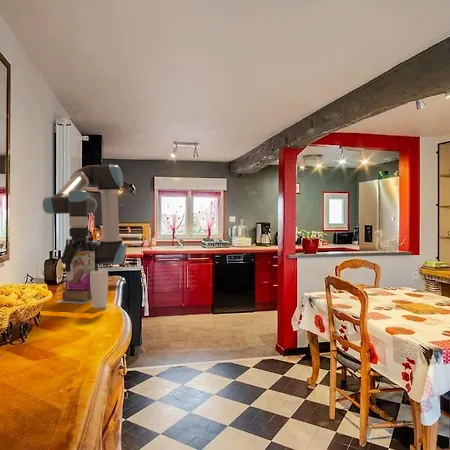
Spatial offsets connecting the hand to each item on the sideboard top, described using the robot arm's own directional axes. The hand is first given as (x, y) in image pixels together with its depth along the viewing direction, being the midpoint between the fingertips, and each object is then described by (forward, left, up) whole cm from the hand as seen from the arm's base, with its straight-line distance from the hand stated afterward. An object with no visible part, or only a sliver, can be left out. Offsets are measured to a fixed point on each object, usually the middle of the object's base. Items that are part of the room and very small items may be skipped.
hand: (80, 277), depth 164 cm
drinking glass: (+10, +16, -11) cm, 22 cm away
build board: (0, 0, -11) cm, 11 cm away
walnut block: (0, 0, -9) cm, 9 cm away
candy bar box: (0, 0, -6) cm, 6 cm away
